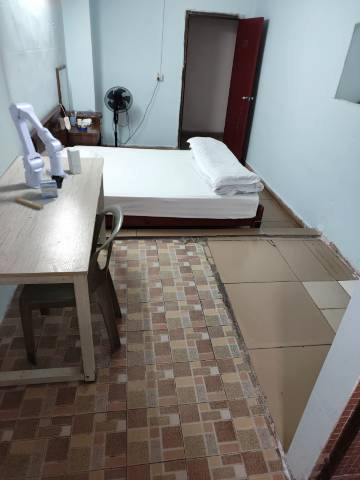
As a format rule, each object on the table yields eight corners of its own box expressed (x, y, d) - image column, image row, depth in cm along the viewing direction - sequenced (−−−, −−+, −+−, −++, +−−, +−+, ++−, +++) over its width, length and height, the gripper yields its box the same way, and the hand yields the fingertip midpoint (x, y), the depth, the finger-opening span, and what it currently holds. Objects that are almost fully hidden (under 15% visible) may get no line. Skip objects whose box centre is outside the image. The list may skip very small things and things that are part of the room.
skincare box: (82, 173, 210) (80, 150, 202) (72, 174, 207) (70, 151, 199) (77, 169, 216) (75, 146, 208) (68, 170, 213) (66, 147, 205)
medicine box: (42, 199, 173) (40, 183, 169) (41, 195, 176) (39, 180, 172) (58, 197, 176) (56, 181, 172) (57, 193, 180) (54, 178, 175)
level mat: (15, 201, 169) (14, 197, 168) (36, 193, 179) (35, 189, 178) (40, 210, 162) (39, 206, 161) (60, 201, 172) (59, 197, 171)
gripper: (71, 164, 174) (74, 189, 181) (51, 159, 179) (55, 183, 186) (61, 168, 168) (64, 193, 175) (41, 162, 174) (45, 186, 181)
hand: (59, 188), depth 180 cm, fingers closed
